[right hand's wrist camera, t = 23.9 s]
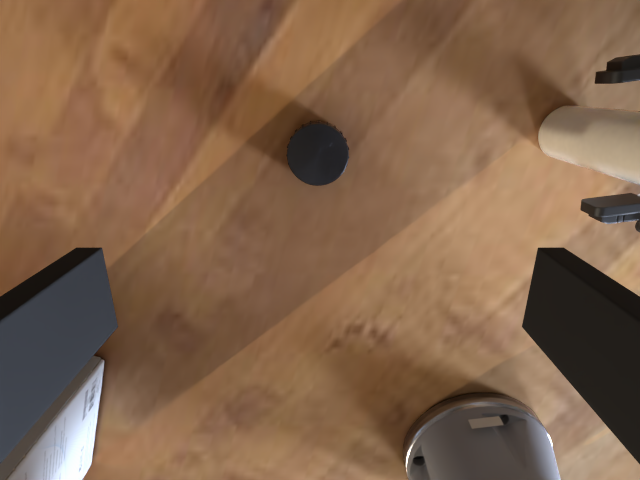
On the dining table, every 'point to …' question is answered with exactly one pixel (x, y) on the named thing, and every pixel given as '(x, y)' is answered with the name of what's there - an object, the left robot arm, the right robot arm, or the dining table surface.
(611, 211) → the left robot arm
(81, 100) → the dining table surface
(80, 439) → the hard drive box
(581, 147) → the white plastic cylinder
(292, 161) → the lid
